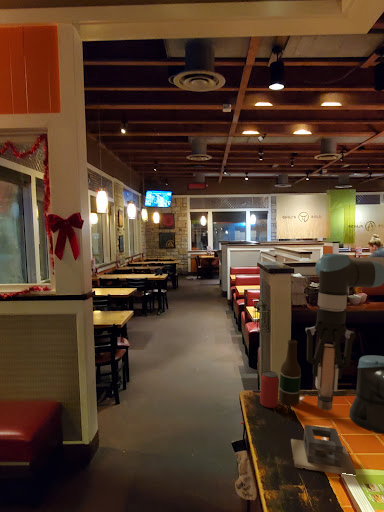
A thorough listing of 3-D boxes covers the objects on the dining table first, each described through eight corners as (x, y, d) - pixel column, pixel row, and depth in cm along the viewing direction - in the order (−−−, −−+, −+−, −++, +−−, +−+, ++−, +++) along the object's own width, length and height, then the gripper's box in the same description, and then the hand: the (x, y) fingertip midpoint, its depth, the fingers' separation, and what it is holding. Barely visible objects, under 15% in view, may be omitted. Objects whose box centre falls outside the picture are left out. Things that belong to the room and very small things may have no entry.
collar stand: (344, 449, 106) (346, 427, 106) (356, 476, 94) (358, 452, 94) (290, 441, 109) (292, 420, 108) (295, 467, 97) (296, 443, 97)
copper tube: (330, 404, 102) (334, 344, 101) (333, 411, 98) (338, 349, 97) (316, 402, 103) (320, 343, 102) (318, 409, 99) (322, 347, 98)
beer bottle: (300, 406, 132) (304, 344, 130) (279, 404, 133) (283, 342, 131) (297, 397, 139) (301, 338, 138) (278, 394, 141) (281, 336, 139)
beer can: (277, 409, 129) (279, 378, 128) (259, 407, 130) (261, 376, 129) (277, 401, 135) (278, 371, 134) (259, 399, 137) (261, 369, 136)
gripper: (359, 307, 101) (353, 385, 102) (298, 303, 104) (293, 379, 105) (367, 313, 93) (361, 397, 95) (302, 308, 96) (296, 390, 98)
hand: (325, 387), depth 100 cm, fingers closed on copper tube, 4 cm apart
